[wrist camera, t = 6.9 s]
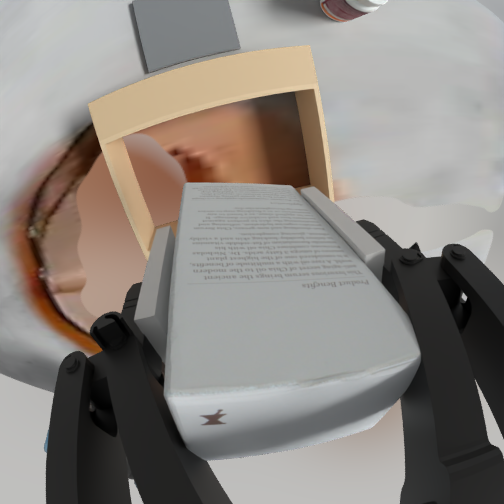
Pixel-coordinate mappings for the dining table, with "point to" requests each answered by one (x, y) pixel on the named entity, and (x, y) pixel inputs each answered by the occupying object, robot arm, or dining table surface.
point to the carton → (203, 97)
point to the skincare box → (275, 327)
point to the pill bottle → (349, 8)
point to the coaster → (184, 30)
